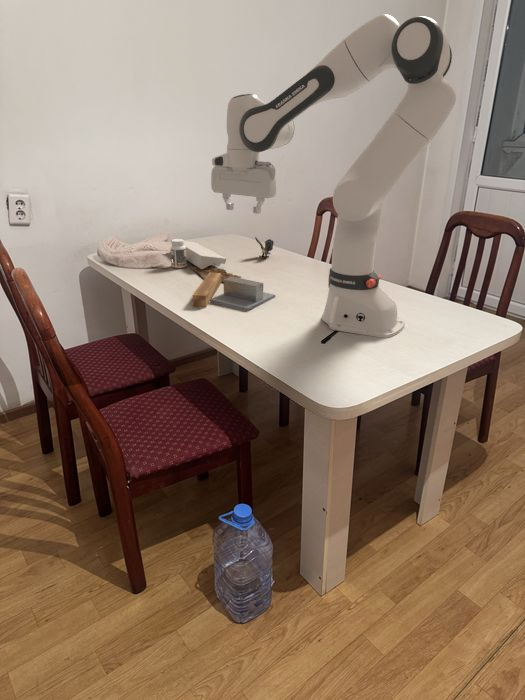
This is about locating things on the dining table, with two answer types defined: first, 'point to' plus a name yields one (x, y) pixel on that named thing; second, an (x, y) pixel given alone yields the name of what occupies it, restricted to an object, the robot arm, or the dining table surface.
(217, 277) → the wood batten
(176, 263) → the pill bottle
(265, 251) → the eagle figurine
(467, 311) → the dining table surface
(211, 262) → the decorative molding
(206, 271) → the wooden fragment
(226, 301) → the ridge board
